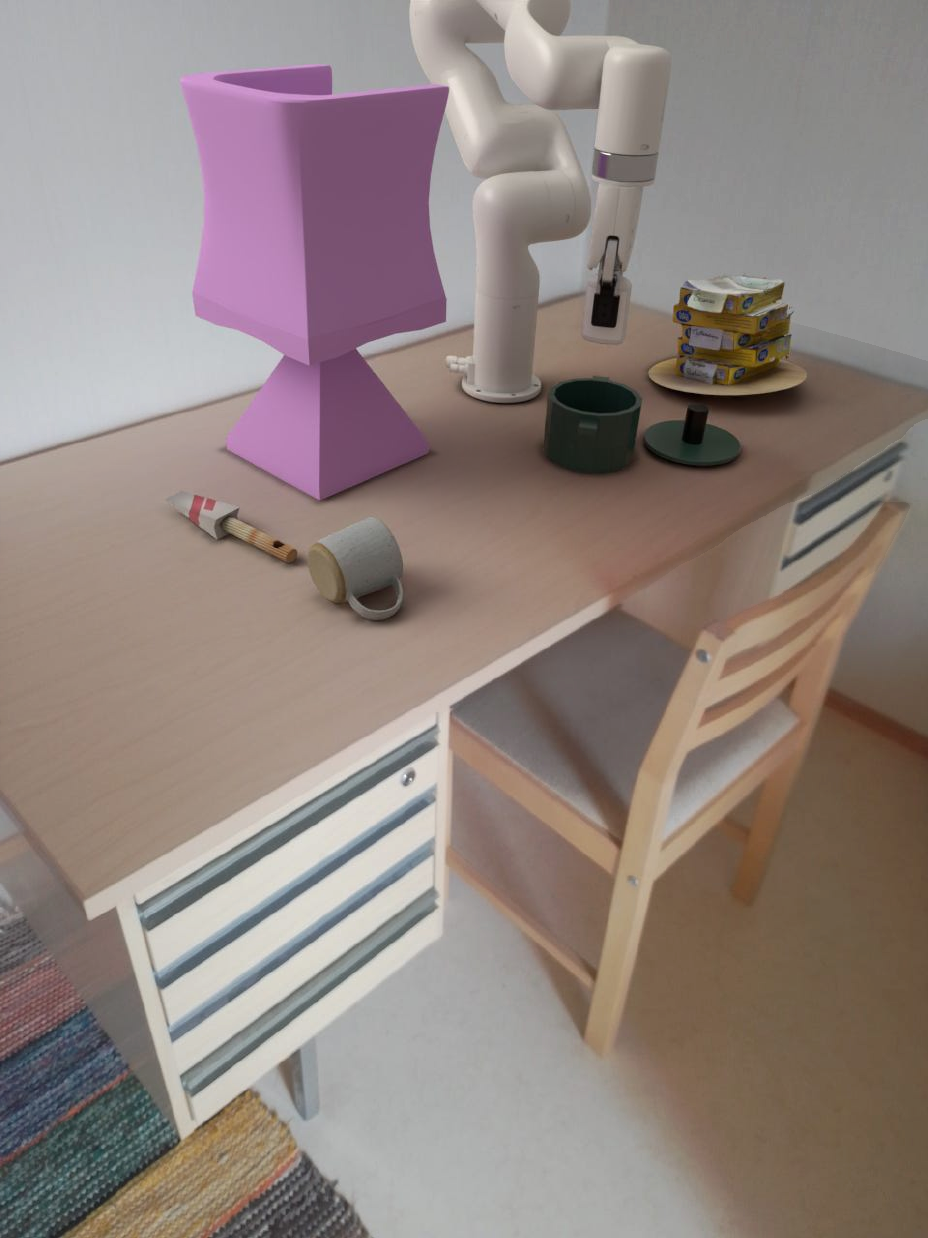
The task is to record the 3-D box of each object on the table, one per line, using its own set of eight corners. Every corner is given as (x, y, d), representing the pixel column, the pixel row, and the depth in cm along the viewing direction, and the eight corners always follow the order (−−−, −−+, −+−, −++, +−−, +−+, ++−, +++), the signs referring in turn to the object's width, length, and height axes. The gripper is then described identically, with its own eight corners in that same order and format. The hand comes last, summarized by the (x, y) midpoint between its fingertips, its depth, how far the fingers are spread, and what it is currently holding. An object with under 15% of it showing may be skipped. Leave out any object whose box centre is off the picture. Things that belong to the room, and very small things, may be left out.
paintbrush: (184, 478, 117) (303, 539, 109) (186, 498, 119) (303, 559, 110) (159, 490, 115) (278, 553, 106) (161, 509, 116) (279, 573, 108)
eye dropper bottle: (608, 349, 122) (621, 252, 115) (575, 337, 125) (585, 242, 118) (629, 342, 124) (643, 246, 117) (596, 330, 128) (608, 236, 121)
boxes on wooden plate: (618, 371, 160) (632, 269, 150) (724, 346, 171) (744, 250, 161) (723, 427, 143) (747, 317, 133) (833, 396, 154) (863, 292, 144)
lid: (640, 462, 133) (646, 420, 129) (645, 422, 143) (652, 383, 140) (739, 475, 131) (749, 433, 127) (737, 433, 141) (746, 394, 138)
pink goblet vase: (442, 453, 133) (452, 85, 106) (318, 508, 119) (293, 103, 92) (336, 404, 144) (321, 62, 118) (212, 449, 131) (163, 75, 104)
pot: (534, 475, 128) (539, 416, 123) (552, 421, 143) (558, 366, 138) (628, 488, 126) (637, 429, 121) (637, 431, 141) (645, 376, 136)
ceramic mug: (304, 587, 105) (300, 527, 100) (365, 562, 109) (364, 504, 105) (360, 635, 99) (358, 573, 94) (422, 607, 103) (424, 547, 98)
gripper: (599, 151, 120) (583, 298, 130) (584, 178, 106) (568, 339, 117) (659, 156, 118) (638, 303, 129) (652, 184, 105) (629, 346, 116)
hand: (605, 319), depth 123 cm, fingers closed on eye dropper bottle, 3 cm apart
